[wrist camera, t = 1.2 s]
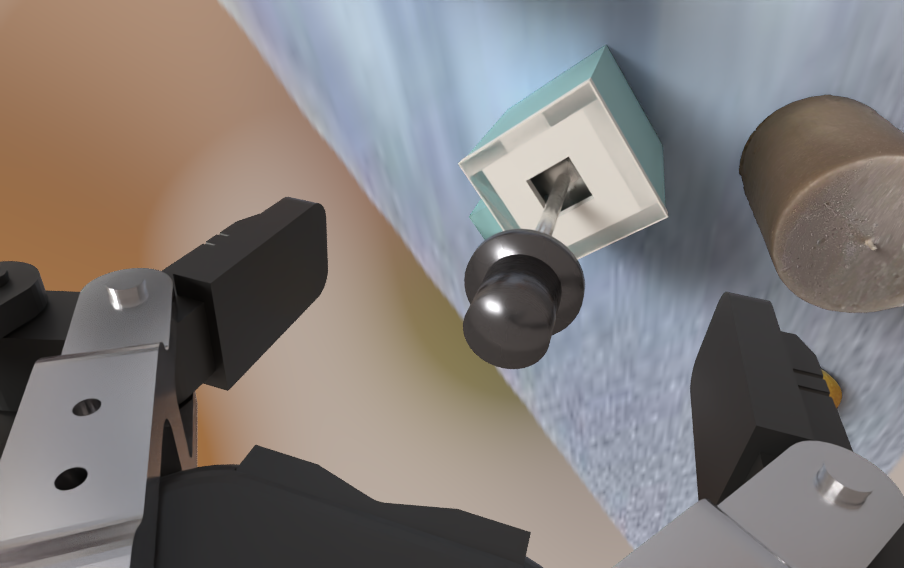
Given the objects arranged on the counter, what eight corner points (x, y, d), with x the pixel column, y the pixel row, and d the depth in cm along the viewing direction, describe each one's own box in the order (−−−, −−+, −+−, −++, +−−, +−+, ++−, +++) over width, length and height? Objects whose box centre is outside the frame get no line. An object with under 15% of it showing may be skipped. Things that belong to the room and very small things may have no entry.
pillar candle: (711, 169, 45) (734, 258, 33) (822, 63, 40) (899, 123, 27) (804, 243, 46) (860, 357, 34) (925, 150, 40) (1045, 245, 28)
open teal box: (664, 146, 45) (668, 217, 34) (541, 212, 51) (508, 291, 40) (606, 42, 43) (589, 80, 31) (484, 123, 49) (431, 180, 37)
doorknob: (631, 192, 36) (615, 366, 21) (549, 234, 39) (486, 411, 24) (582, 110, 35) (529, 237, 20) (501, 160, 38) (402, 302, 23)
